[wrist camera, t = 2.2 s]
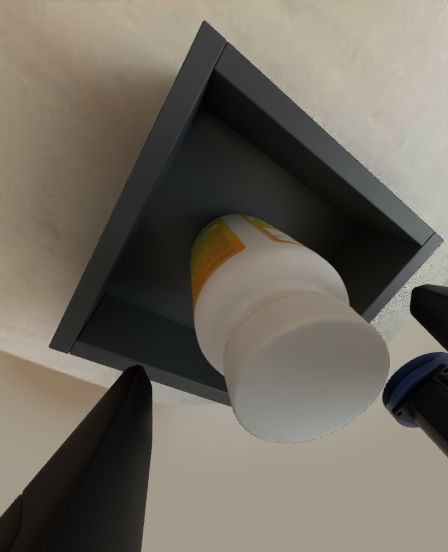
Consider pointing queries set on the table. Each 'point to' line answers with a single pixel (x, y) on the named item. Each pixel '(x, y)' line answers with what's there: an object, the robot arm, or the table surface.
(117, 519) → the robot arm
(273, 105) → the bin
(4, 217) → the table surface
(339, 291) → the supplement bottle
